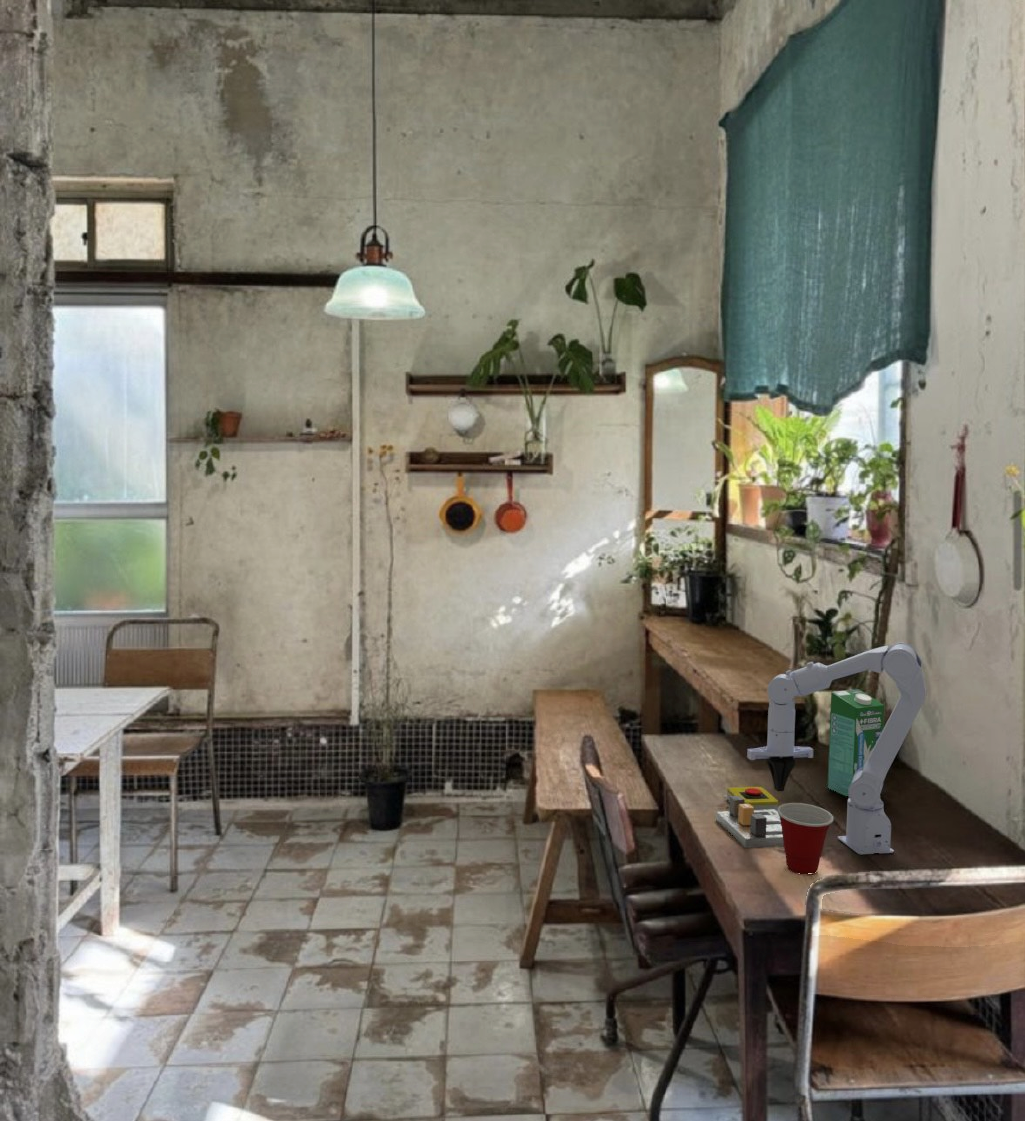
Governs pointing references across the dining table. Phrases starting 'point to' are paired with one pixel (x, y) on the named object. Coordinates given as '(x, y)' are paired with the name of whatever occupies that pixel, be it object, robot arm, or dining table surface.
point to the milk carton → (851, 735)
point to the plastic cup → (803, 835)
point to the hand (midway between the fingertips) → (779, 789)
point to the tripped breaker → (745, 813)
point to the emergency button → (754, 797)
